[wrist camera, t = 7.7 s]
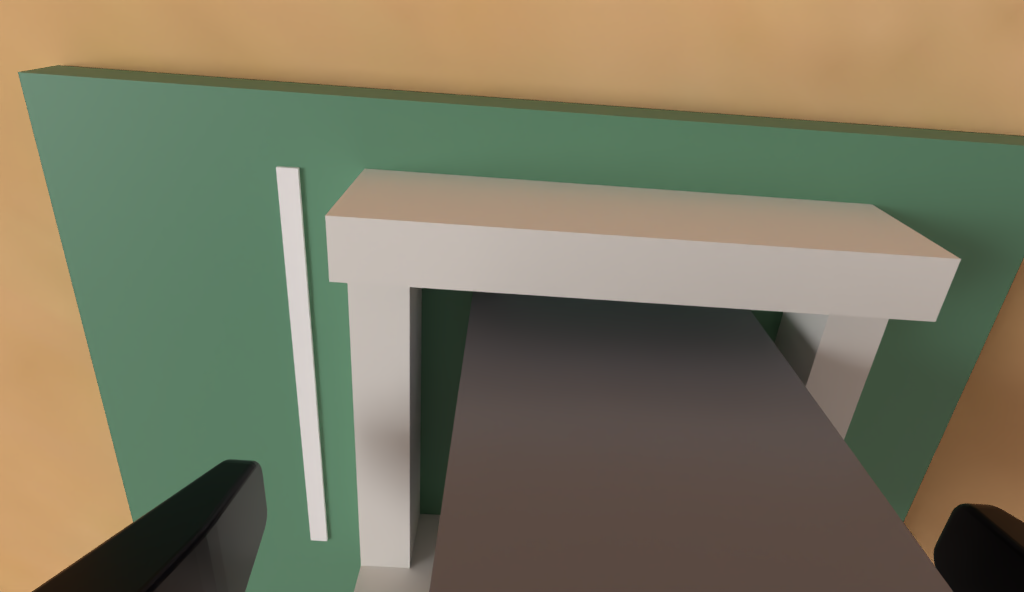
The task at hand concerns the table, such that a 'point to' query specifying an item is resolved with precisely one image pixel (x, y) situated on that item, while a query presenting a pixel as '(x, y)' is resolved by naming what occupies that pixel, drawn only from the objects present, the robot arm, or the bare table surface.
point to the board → (482, 276)
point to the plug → (652, 461)
